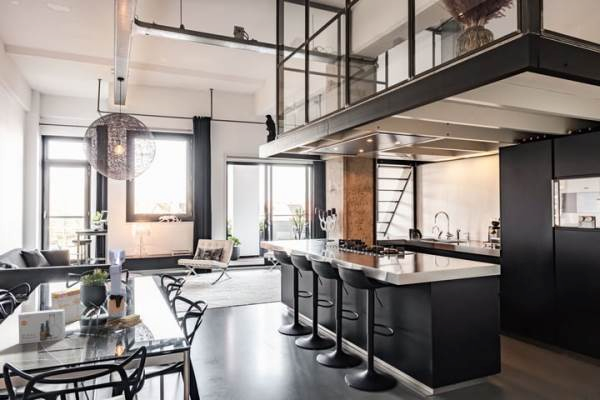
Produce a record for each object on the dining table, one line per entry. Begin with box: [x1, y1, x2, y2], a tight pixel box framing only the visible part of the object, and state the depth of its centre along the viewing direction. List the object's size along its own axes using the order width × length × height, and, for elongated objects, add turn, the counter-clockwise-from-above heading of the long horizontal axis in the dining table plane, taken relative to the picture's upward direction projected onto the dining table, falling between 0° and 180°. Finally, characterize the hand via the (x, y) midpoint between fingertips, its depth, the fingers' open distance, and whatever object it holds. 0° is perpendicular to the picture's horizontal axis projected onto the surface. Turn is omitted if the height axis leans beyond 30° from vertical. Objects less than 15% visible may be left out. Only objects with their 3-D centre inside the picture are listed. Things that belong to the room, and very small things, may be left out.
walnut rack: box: [105, 317, 143, 328], centre depth 247 cm, size 19×12×2 cm, turn 70°
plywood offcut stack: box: [119, 313, 143, 328], centre depth 245 cm, size 7×11×4 cm, turn 160°
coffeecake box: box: [50, 288, 82, 325], centre depth 259 cm, size 15×7×20 cm, turn 149°
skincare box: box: [18, 309, 66, 345], centre depth 222 cm, size 21×6×16 cm, turn 106°
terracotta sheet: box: [108, 297, 125, 314], centre depth 249 cm, size 2×10×8 cm, turn 160°
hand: (116, 307), depth 249 cm, fingers closed on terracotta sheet, 2 cm apart
